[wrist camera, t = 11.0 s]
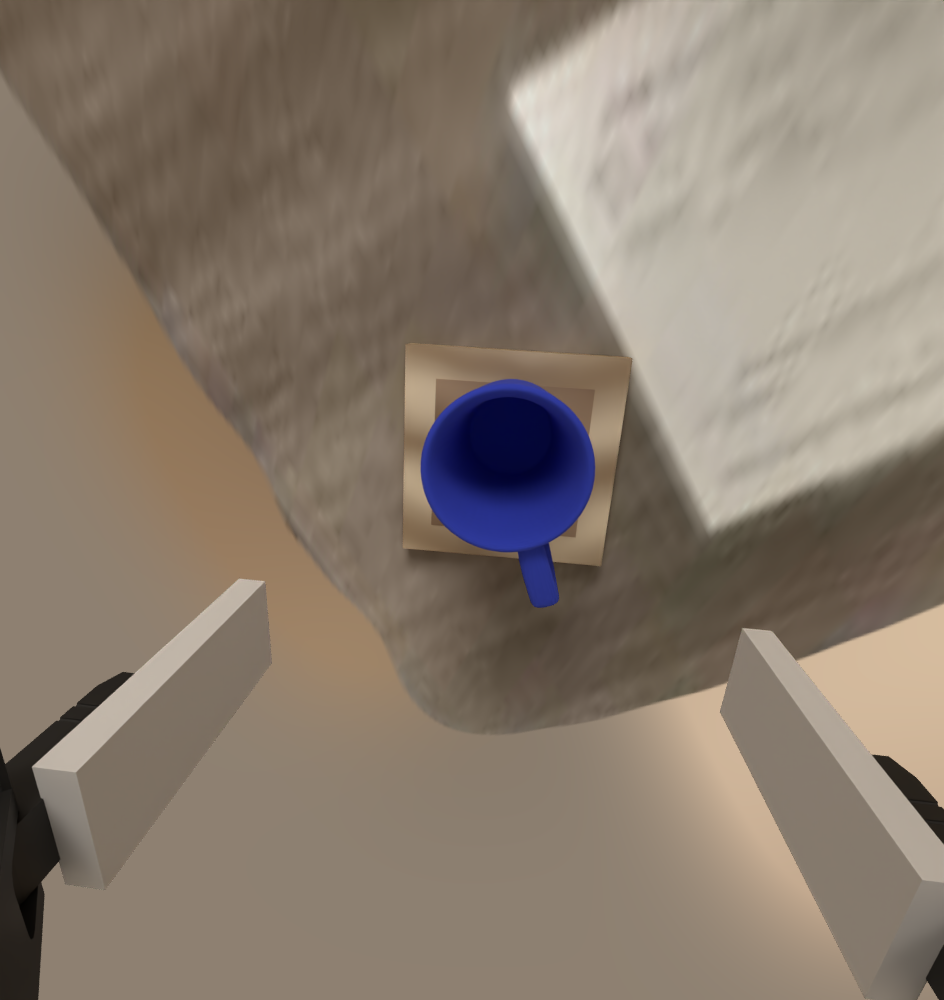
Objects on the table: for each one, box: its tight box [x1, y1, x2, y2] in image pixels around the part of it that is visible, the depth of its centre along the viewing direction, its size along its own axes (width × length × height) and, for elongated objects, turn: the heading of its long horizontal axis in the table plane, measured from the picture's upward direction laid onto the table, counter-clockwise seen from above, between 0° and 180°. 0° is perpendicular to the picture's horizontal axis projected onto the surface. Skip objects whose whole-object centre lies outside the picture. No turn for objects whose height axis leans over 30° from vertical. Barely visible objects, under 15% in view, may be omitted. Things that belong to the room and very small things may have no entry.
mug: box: [420, 379, 595, 608], centre depth 30 cm, size 8×12×10 cm
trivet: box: [403, 343, 632, 566], centre depth 35 cm, size 14×14×2 cm
